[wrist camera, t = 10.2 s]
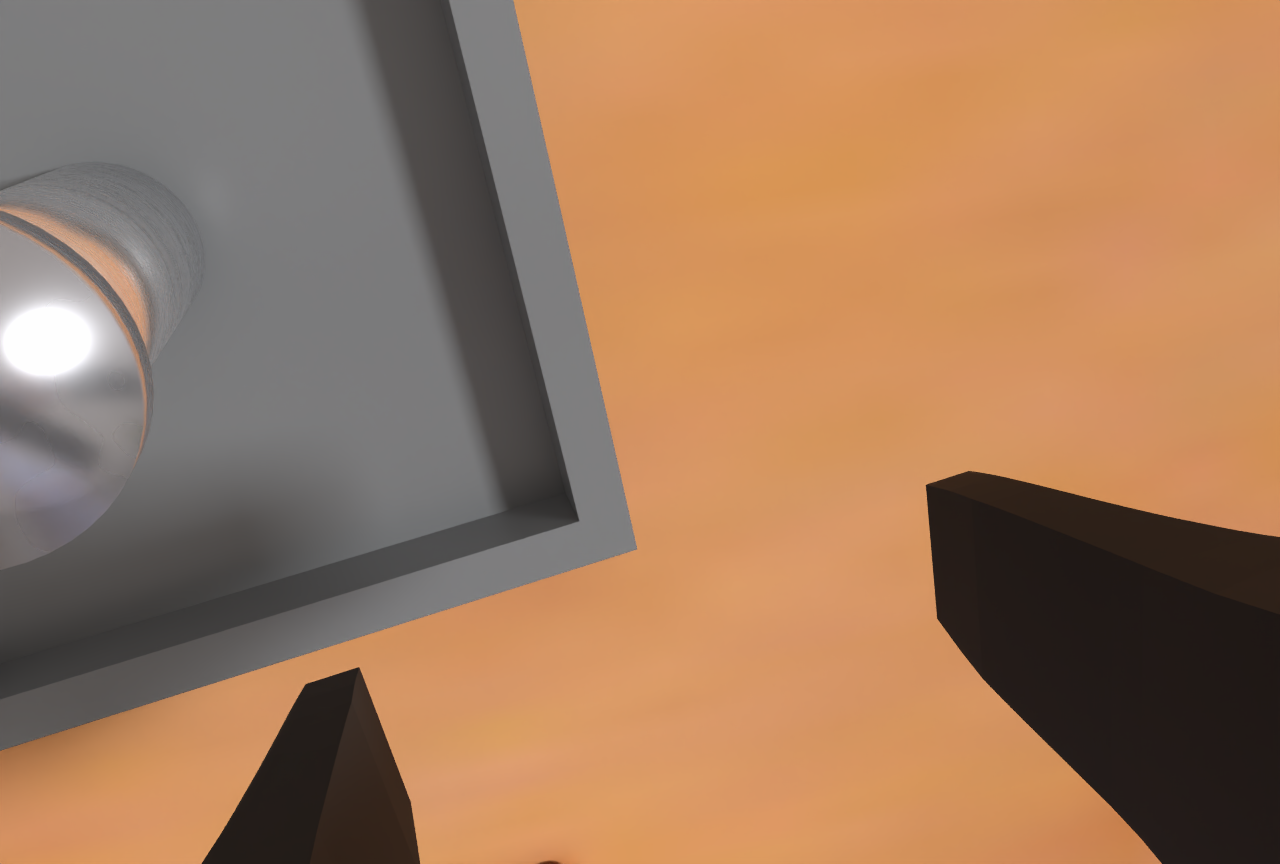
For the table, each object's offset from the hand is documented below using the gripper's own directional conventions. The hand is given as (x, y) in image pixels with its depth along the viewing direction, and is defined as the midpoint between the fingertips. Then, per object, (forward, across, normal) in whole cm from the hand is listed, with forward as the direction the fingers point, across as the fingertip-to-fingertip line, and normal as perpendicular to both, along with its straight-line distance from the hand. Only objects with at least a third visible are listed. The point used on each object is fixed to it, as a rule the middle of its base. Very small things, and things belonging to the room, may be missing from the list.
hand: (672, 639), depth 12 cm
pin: (+9, +6, -5) cm, 12 cm away
